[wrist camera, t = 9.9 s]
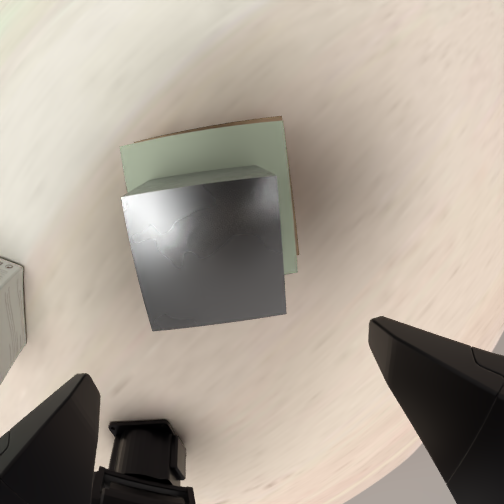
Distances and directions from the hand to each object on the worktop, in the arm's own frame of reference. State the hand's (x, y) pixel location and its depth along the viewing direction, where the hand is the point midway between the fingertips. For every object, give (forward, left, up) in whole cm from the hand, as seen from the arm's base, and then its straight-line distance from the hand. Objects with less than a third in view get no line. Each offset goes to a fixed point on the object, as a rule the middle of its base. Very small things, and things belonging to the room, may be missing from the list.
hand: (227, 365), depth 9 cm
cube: (0, +3, -6) cm, 7 cm away
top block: (0, +3, -10) cm, 10 cm away
